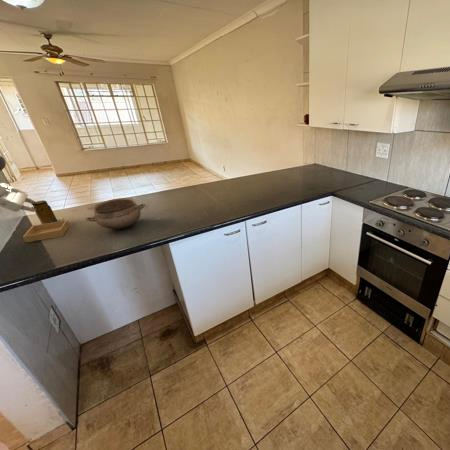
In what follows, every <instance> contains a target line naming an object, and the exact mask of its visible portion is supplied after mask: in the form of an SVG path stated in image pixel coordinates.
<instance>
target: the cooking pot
mask: <svg viewBox="0 0 450 450" xmlns="http://www.w3.org/2000/svg"><path fill="white" fill-rule="evenodd" d="M145 206H146V204H145V203H140V204H137V203H136V199H134V198H133V197H132V198H131V197H120V198H113V199H108V200H105V201H102V202H98V203H97V204H95V205H94V206H93V207H92V211H93V216H91V217H90V216H89V217H86V218H85V221H88V222H93V223H94V222H95V223H96V224H98V225H99V226H100V227H102V228H104V229H108V230H125V229H128V228H129V227H131V226H132V225H134V224H135V223H136V222H137V221H139V219H140V218H141V214H142V212H141V211H142V210H143V208H145Z"/></svg>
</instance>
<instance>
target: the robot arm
mask: <svg viewBox="0 0 450 450" xmlns="http://www.w3.org/2000/svg"><path fill="white" fill-rule="evenodd" d="M6 165H7V161H6V160H5V157H3V156H2V155H1V154H0V172H2V171H3V170H4V169H5V167H6ZM28 196H29V194H28V193H26V192H24V191H23V190H20V189H19V188H15V187H13V186H10V184H8V183H5V182H1V183H0V207H1V208H4V209H7V210H9V211H12V212H19V211H20V210H21V211H22V210H23V211H28V212H31V213H34V212H35V209H36V208H34V207H33V206H28V205H26V204H25V203H28V204H30V205H32V203H34V202H37V201H36V200H34V199H32V198H31V197H28Z"/></svg>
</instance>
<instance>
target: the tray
mask: <svg viewBox="0 0 450 450" xmlns="http://www.w3.org/2000/svg"><path fill="white" fill-rule="evenodd" d="M69 227H70V223H69V221H68V219H65V220H64V219H63V221H58V222H52V223H46V224H42V223H40V224H35V225H32V226H31V227H30V228H29V229H28V230H27V231H26V232H25V234H23V236H22V238H23V241H24V242H25V243H32V242H37V241H42V240H48V239H53V238H59V237H63V236H64V235H65V234H66V232H67V230H68V229H69Z"/></svg>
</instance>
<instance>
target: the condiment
mask: <svg viewBox="0 0 450 450" xmlns="http://www.w3.org/2000/svg"><path fill="white" fill-rule="evenodd" d="M31 205H32V207H33V208H36V209H35V211H34V212H35V214H36V216H37V218H38V220H39V221H40V224H46V223H52V222H58V221H64V218H63V217H60V218H57V216H56V215H55V213H54V211H53V210H52V207H51V206H50V205H49V203H48V202H47V200H37V201H36V202H34V203H32V204H31Z"/></svg>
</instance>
